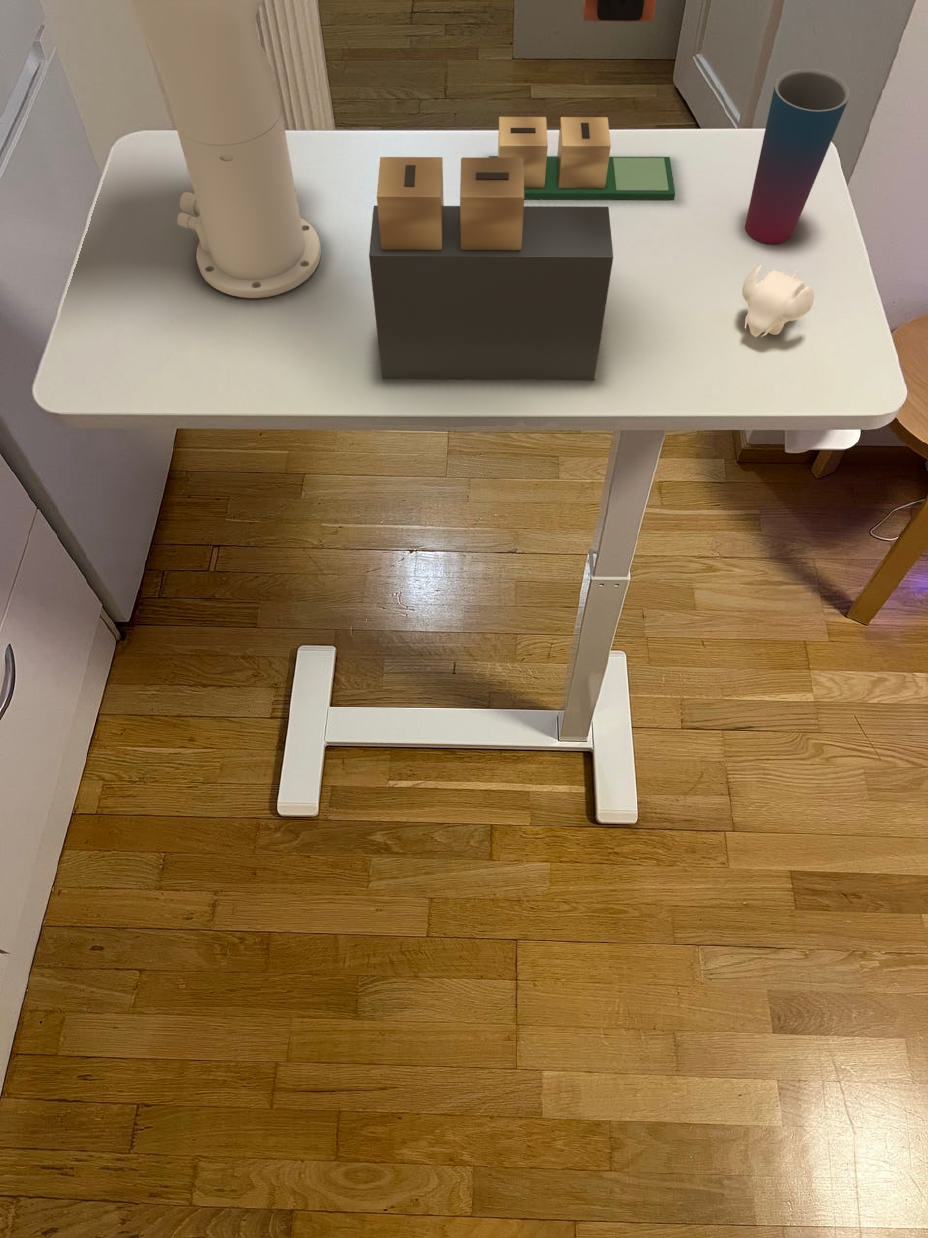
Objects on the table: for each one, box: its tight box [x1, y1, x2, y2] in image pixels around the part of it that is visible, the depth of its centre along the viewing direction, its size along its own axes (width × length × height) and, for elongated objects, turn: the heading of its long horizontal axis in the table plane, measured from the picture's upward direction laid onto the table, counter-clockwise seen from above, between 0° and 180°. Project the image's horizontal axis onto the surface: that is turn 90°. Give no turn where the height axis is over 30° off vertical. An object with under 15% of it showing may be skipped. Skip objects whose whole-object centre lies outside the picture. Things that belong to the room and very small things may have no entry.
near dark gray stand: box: [368, 156, 614, 381], centre depth 85 cm, size 20×6×19 cm, turn 89°
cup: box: [744, 67, 851, 245], centre depth 96 cm, size 7×7×15 cm
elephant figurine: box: [741, 264, 815, 338], centre depth 92 cm, size 7×8×6 cm
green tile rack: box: [488, 116, 676, 201], centre depth 104 cm, size 20×6×6 cm, turn 89°
